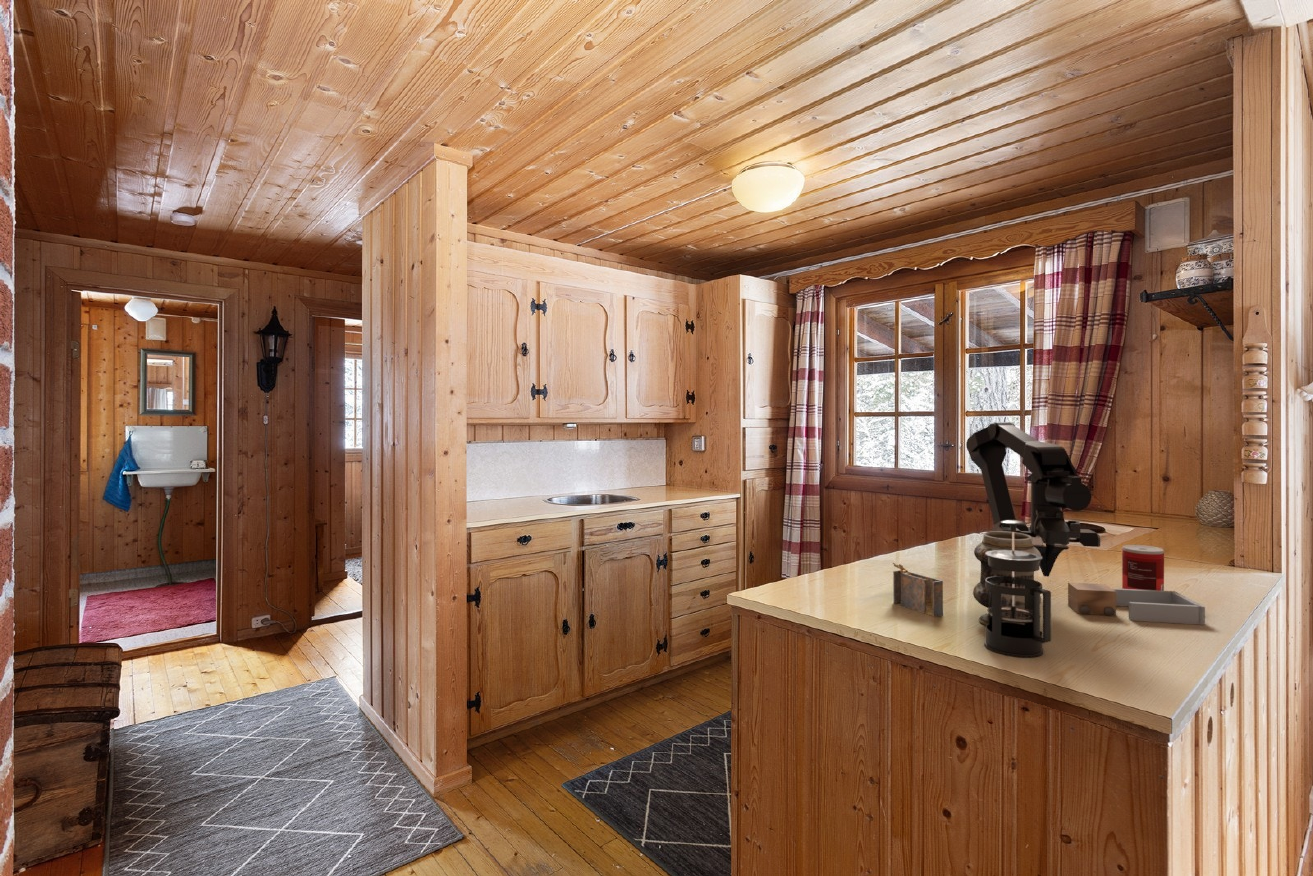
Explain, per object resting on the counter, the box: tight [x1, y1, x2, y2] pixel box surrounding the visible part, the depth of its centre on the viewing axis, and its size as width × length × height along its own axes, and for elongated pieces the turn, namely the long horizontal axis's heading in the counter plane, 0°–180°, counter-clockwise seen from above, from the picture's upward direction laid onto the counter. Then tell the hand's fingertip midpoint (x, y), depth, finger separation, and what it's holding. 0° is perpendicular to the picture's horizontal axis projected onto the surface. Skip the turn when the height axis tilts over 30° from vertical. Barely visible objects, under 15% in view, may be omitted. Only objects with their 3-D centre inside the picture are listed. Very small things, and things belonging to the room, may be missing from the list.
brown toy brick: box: [1067, 582, 1117, 617], centre depth 138 cm, size 7×7×5 cm
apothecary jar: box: [972, 530, 1042, 626], centre depth 130 cm, size 12×12×18 cm
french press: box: [983, 519, 1052, 659], centre depth 116 cm, size 12×9×23 cm
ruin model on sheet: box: [892, 562, 944, 618], centre depth 141 cm, size 11×3×10 cm, turn 24°
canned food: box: [1121, 544, 1165, 591], centre depth 148 cm, size 8×8×11 cm
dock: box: [1111, 587, 1206, 626], centre depth 135 cm, size 12×12×4 cm
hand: (1046, 576), depth 140 cm, fingers closed
